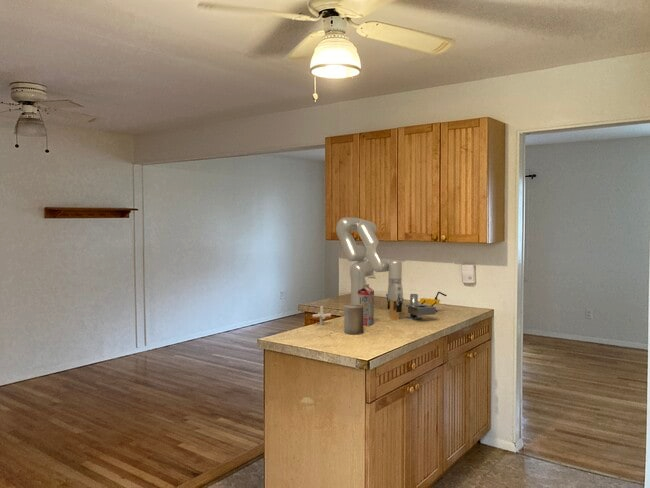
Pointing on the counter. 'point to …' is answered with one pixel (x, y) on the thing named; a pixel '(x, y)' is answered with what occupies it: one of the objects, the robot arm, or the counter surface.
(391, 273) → the robot arm
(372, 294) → the juice carton
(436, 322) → the counter surface
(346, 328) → the pillar candle
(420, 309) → the block with square hole
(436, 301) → the robot dog
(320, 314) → the pipe connector
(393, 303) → the wooden block
